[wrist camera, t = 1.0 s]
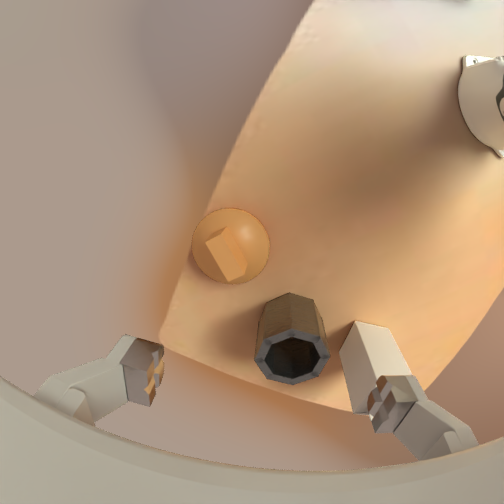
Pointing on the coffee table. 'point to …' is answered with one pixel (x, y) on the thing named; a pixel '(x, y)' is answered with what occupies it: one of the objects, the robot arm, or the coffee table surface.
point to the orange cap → (230, 246)
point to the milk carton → (369, 362)
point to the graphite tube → (291, 340)
